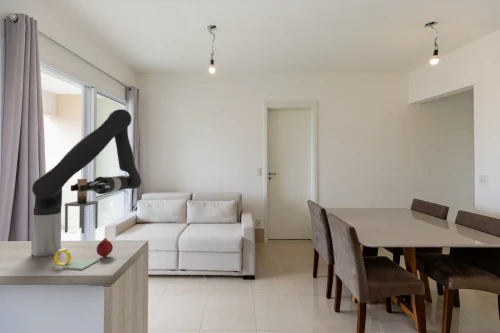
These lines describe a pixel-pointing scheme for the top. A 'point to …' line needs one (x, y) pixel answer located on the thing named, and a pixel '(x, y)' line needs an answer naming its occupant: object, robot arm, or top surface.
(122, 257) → the top surface
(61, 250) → the watch
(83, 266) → the mat
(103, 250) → the onion
